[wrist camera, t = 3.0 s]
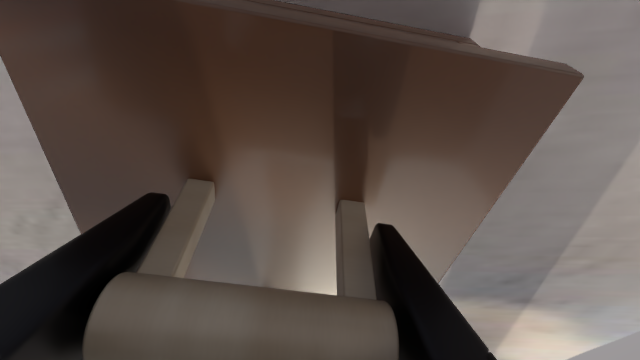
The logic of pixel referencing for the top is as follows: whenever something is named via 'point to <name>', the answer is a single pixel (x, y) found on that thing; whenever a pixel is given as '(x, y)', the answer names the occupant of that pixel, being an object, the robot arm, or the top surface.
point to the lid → (268, 162)
